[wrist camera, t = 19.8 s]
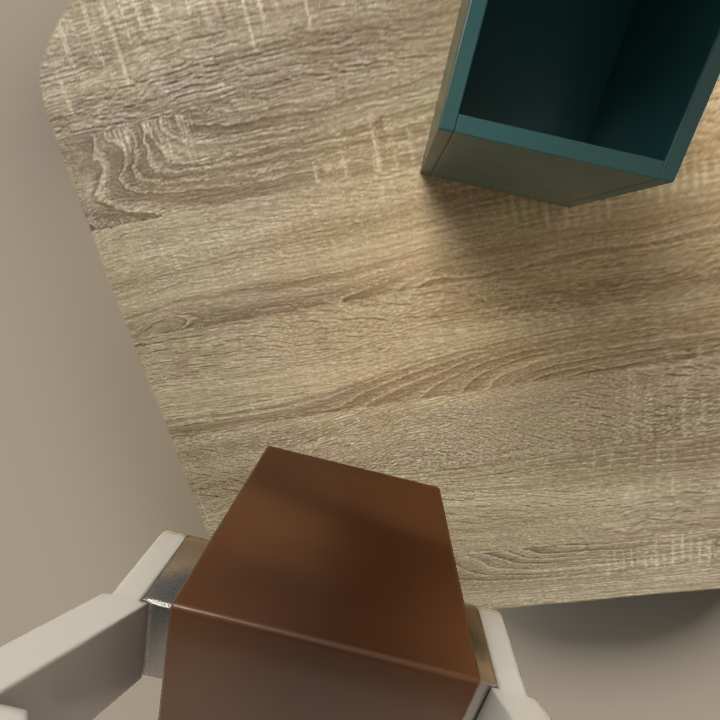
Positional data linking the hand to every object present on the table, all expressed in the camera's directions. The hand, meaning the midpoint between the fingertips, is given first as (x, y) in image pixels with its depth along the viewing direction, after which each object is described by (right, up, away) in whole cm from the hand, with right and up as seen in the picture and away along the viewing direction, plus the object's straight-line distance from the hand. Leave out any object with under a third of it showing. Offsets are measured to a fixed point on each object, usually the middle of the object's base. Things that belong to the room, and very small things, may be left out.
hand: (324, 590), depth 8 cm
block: (0, 0, +2) cm, 2 cm away
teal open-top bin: (+12, +24, +18) cm, 33 cm away
